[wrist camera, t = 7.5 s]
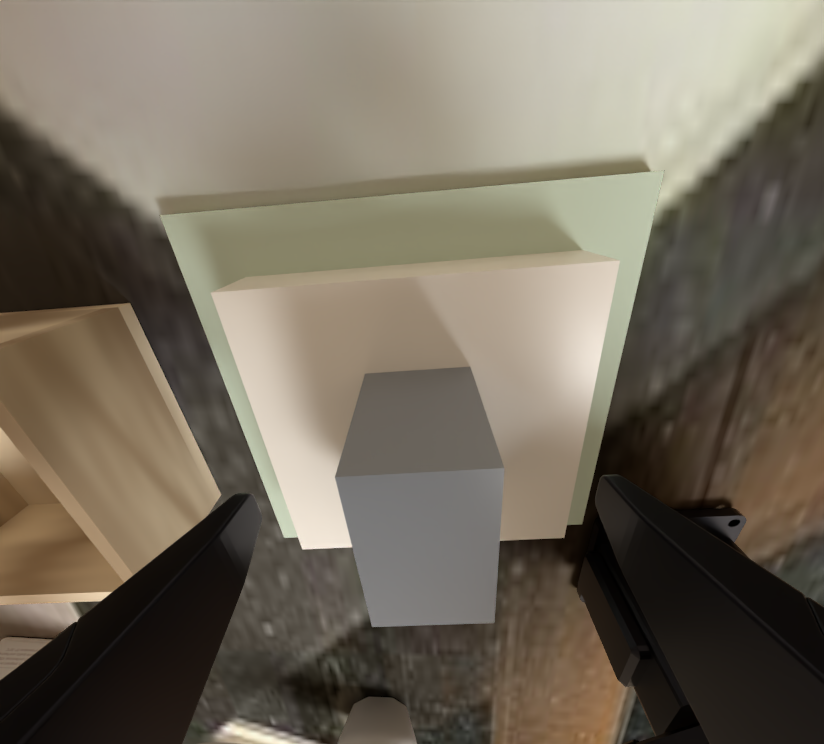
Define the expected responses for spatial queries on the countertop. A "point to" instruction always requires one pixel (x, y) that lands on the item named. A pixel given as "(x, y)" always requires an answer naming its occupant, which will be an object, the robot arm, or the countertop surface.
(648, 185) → the mat
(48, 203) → the countertop surface
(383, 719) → the salt shaker
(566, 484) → the lid
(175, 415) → the box
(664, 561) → the robot arm
